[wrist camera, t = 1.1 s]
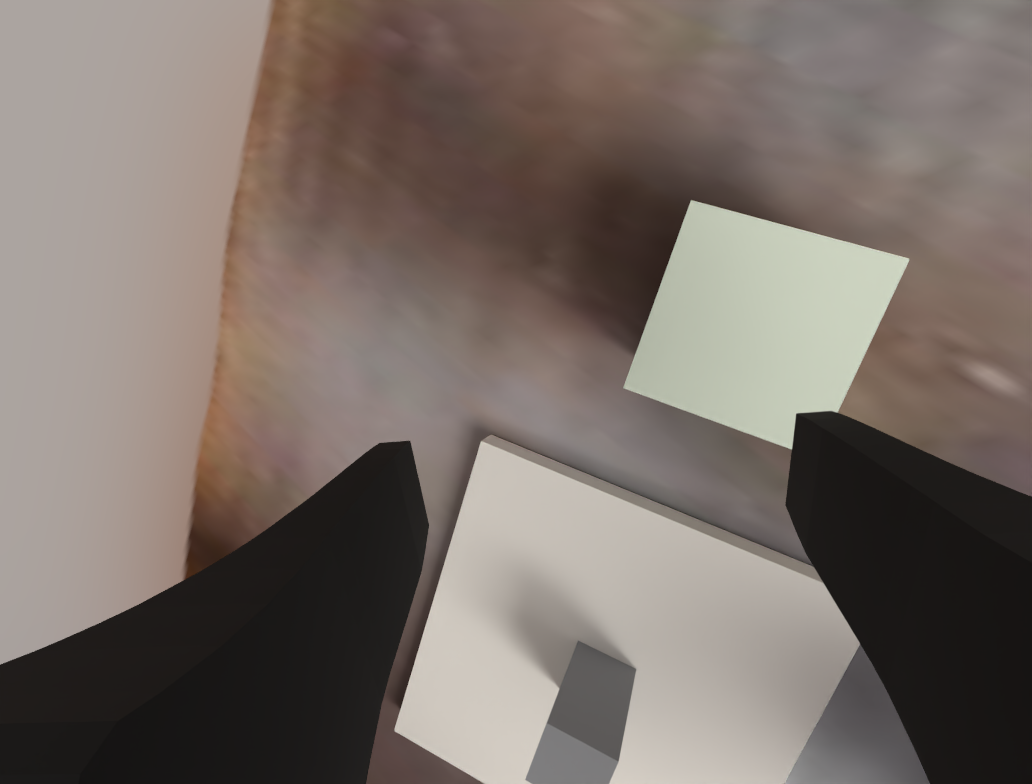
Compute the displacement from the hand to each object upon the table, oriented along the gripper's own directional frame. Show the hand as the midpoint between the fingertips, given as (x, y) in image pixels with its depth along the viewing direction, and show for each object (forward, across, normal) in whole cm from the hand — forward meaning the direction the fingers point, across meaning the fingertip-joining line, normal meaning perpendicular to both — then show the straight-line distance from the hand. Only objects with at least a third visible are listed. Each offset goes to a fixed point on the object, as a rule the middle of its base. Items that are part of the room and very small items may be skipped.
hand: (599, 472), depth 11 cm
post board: (+8, 0, +16) cm, 18 cm away
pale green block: (+12, -6, +2) cm, 13 cm away
